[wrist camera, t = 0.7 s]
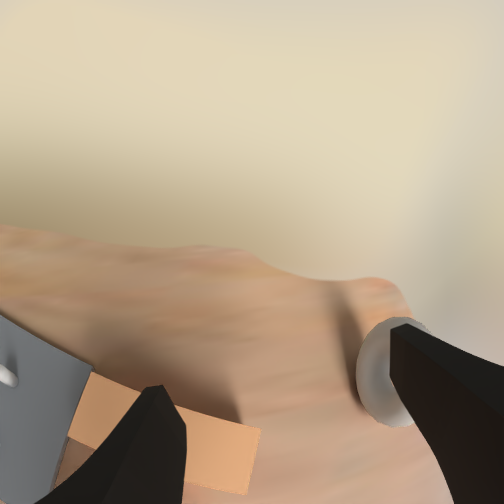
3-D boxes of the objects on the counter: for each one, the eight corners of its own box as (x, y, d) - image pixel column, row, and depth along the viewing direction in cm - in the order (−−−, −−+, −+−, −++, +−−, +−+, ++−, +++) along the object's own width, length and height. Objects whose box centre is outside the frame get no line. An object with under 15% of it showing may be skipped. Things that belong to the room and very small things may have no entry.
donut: (386, 431, 24) (464, 405, 17) (359, 439, 23) (438, 417, 16) (367, 342, 30) (429, 294, 23) (340, 344, 29) (402, 294, 22)
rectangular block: (244, 433, 22) (261, 429, 18) (230, 488, 19) (246, 495, 15) (101, 385, 21) (91, 371, 17) (82, 439, 18) (66, 435, 14)
